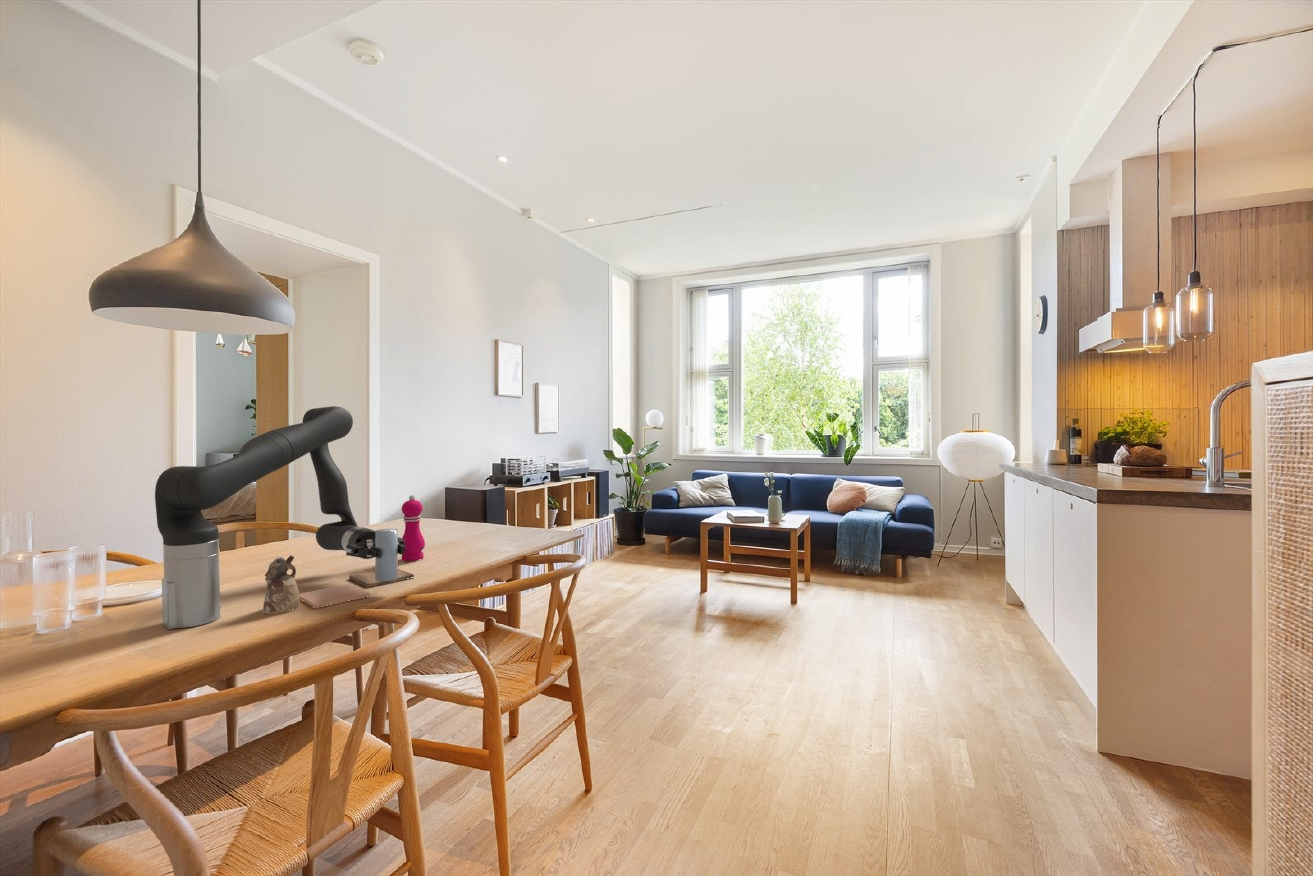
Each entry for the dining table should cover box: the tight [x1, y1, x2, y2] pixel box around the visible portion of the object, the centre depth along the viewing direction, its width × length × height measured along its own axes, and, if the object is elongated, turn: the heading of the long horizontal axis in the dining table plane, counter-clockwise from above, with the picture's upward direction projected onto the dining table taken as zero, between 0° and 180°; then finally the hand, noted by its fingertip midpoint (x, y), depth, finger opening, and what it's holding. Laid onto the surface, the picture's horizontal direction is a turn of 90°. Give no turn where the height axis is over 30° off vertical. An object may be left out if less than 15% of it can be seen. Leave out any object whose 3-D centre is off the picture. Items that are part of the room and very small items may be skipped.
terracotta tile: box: [299, 583, 371, 610], centre depth 139 cm, size 12×12×1 cm
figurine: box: [262, 554, 301, 615], centre depth 130 cm, size 7×7×12 cm
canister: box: [374, 528, 399, 581], centre depth 141 cm, size 5×5×12 cm
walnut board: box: [349, 568, 415, 588], centre depth 155 cm, size 12×12×1 cm
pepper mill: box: [401, 494, 426, 562], centre depth 177 cm, size 7×7×20 cm
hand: (391, 551), depth 139 cm, fingers closed on canister, 5 cm apart
